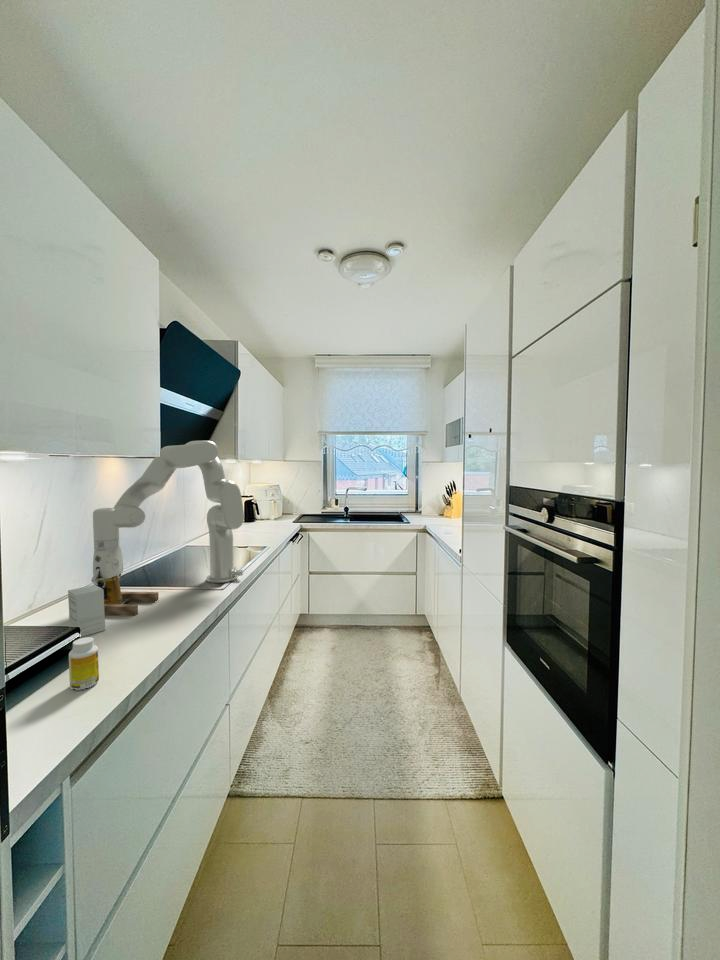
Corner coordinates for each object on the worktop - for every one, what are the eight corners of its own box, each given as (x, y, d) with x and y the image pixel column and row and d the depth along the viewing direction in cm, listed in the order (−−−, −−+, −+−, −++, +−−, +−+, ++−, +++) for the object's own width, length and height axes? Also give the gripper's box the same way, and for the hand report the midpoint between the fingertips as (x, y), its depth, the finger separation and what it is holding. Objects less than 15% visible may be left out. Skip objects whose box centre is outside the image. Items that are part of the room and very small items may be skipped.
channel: (158, 600, 153) (158, 592, 153) (134, 615, 138) (134, 606, 138) (110, 599, 154) (109, 591, 154) (81, 614, 139) (80, 605, 139)
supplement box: (96, 624, 131) (95, 584, 130) (105, 630, 126) (104, 588, 125) (69, 631, 125) (67, 589, 125) (77, 638, 121) (75, 595, 120)
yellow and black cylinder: (97, 610, 142) (91, 575, 142) (110, 602, 151) (104, 569, 150) (119, 606, 143) (113, 571, 142) (131, 598, 151) (125, 566, 151)
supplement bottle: (102, 684, 96) (100, 640, 95) (73, 694, 92) (71, 648, 91) (95, 675, 100) (93, 633, 99) (67, 685, 96) (65, 641, 95)
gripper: (101, 549, 136) (103, 604, 137) (132, 539, 153) (133, 588, 154) (78, 549, 136) (80, 604, 137) (111, 539, 154) (113, 587, 155)
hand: (108, 595), depth 146 cm, fingers closed on yellow and black cylinder, 6 cm apart
